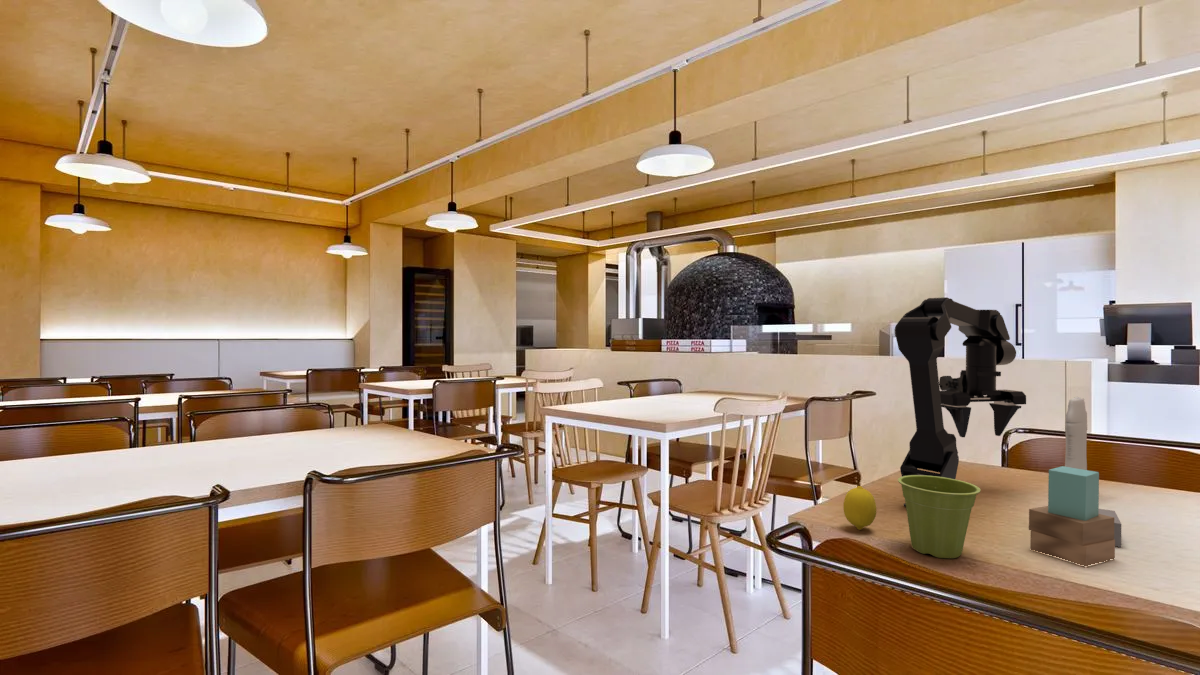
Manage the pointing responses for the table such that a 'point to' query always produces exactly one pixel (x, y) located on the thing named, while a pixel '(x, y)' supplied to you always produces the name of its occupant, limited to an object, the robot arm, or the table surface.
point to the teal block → (1073, 493)
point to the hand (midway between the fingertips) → (980, 436)
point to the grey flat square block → (1116, 525)
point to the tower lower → (1073, 549)
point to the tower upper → (1071, 527)
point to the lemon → (859, 507)
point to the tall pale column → (1076, 434)
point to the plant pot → (938, 513)
